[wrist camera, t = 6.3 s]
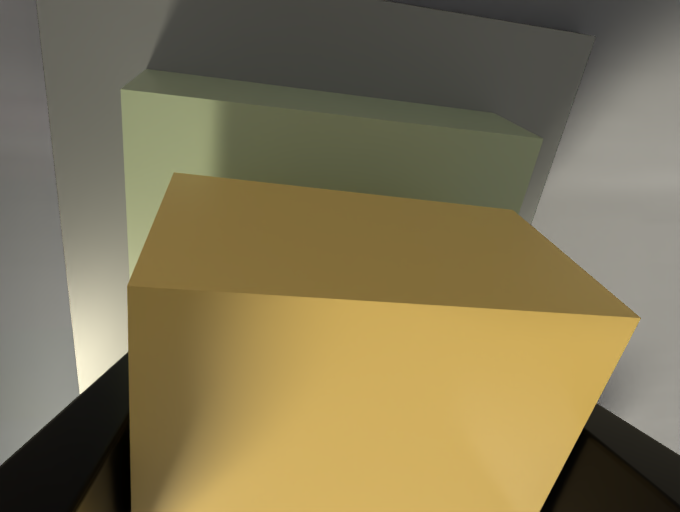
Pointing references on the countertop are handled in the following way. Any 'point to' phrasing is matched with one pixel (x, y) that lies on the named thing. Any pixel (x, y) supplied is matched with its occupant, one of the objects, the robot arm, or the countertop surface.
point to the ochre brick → (356, 353)
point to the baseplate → (263, 50)
